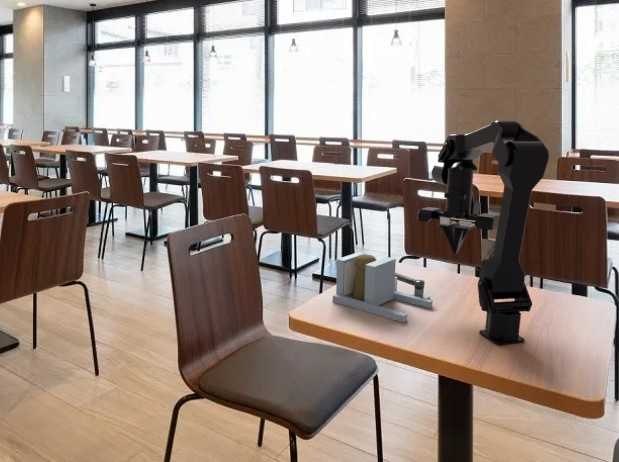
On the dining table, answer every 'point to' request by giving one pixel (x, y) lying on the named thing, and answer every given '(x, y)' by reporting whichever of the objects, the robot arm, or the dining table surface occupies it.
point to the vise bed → (345, 291)
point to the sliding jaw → (380, 281)
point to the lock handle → (410, 281)
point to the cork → (361, 276)
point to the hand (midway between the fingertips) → (455, 253)
